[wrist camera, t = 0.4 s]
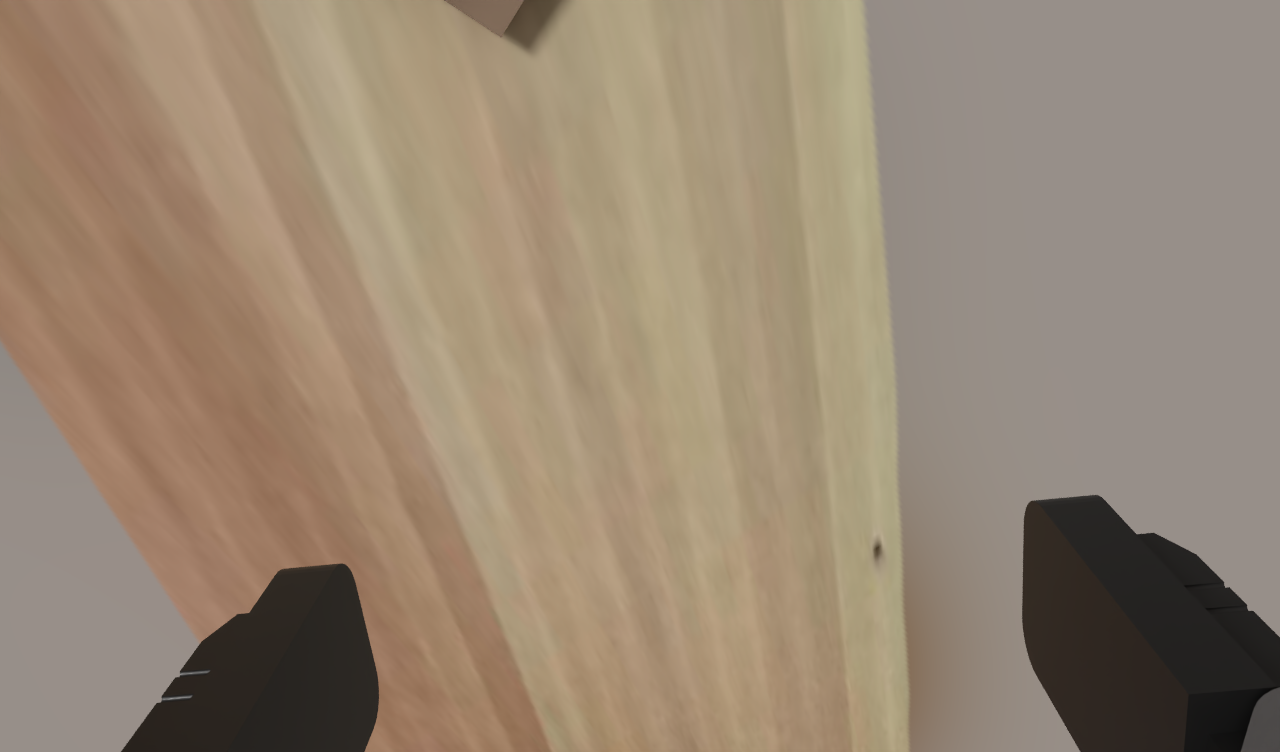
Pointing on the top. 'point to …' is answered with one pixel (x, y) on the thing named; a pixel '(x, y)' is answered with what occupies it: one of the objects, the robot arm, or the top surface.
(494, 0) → the board
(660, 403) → the top surface
